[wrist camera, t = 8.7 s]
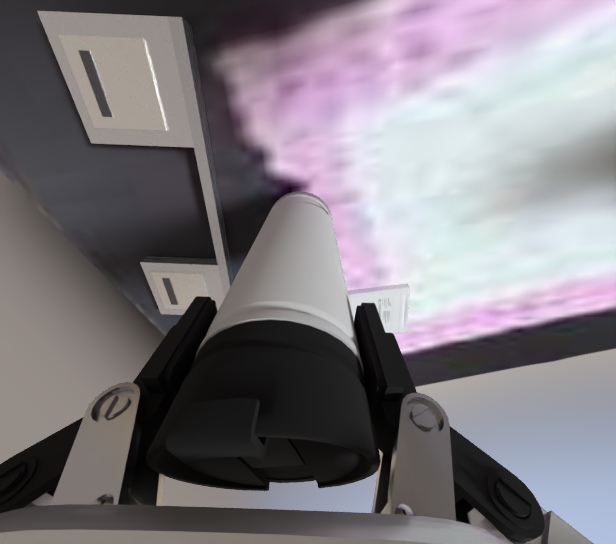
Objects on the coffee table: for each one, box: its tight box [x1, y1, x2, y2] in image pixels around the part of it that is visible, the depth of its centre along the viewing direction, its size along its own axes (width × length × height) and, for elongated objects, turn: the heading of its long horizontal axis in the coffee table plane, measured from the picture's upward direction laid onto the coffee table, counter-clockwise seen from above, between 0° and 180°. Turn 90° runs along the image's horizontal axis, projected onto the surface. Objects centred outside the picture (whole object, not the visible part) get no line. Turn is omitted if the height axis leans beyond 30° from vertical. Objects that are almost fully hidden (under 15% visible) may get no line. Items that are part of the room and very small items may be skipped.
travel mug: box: [146, 192, 381, 491], centre depth 14 cm, size 6×7×20 cm
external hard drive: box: [347, 284, 410, 334], centre depth 32 cm, size 2×8×12 cm
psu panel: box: [37, 11, 234, 315], centre depth 24 cm, size 28×10×2 cm, turn 178°
